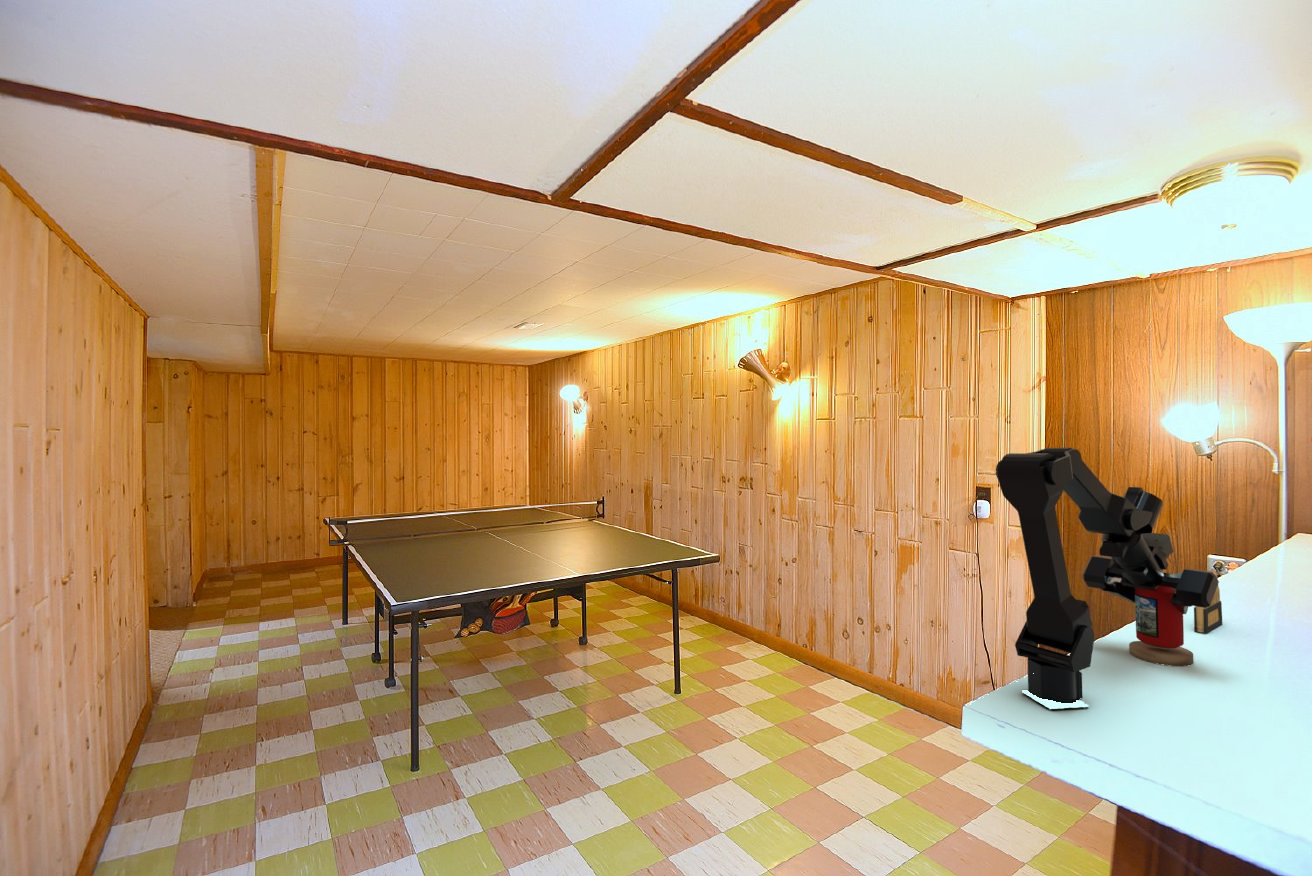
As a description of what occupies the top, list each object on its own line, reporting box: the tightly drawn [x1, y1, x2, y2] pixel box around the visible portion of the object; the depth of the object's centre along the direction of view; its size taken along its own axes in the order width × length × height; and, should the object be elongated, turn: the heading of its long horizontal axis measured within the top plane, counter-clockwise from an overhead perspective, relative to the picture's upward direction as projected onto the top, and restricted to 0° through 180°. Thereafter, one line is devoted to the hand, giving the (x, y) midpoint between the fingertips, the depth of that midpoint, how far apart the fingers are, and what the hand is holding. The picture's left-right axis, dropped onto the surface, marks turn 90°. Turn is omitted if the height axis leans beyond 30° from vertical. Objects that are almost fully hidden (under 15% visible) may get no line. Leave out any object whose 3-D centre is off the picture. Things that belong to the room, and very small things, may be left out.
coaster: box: [1128, 640, 1194, 667], centre depth 109 cm, size 9×9×2 cm
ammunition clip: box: [1193, 568, 1223, 635], centre depth 125 cm, size 11×2×12 cm, turn 123°
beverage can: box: [1134, 585, 1185, 649], centre depth 109 cm, size 7×7×12 cm
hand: (1162, 607), depth 110 cm, fingers closed on beverage can, 7 cm apart
